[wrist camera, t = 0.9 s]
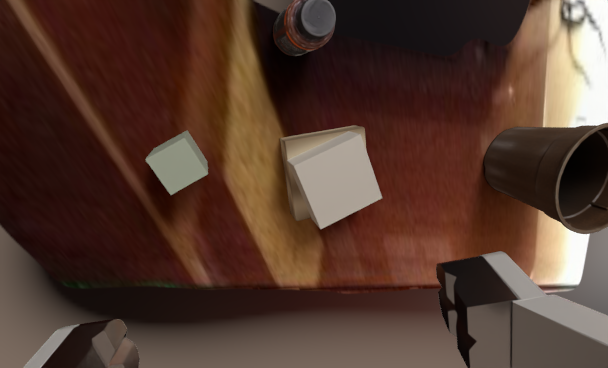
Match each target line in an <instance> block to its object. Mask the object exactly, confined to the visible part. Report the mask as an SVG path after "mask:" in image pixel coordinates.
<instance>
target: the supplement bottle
mask: <svg viewBox="0 0 608 368" xmlns="http://www.w3.org/2000/svg"><path fill="white" fill-rule="evenodd" d="M335 20H336V16H335V11H334V8H333V6H332V5H331V3H330V2H329V1H327V0H294V1H293V2H292V3H291V4H290V5H289V6H288V7H287V8H286V9H285V10H284V11H283V12H282V13H281V14H280V15H279V16H278V17H277V19H276V21H275V23H274V26H273V37H274V41H275V43H276V45H277V47H278V48H279V49H280V50H281V51H282V52H284V53H285V54H287V55H291V56H299V55H302V54H305V53H308V52H310V51H313V50H315V49H317V48H320V47H322V46H323V45H325V44H326V43H327V42H328V41H329V39H330V38H331V36H332V34H333V31H334V27H335Z"/></svg>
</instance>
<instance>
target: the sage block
mask: <svg viewBox="0 0 608 368" xmlns="http://www.w3.org/2000/svg"><path fill="white" fill-rule="evenodd" d="M145 160H146V161H147V163H148V164H149V165H150V167H151V168H152V170H153V171H154V172H155V174H156V175H157V177H158V178H159V179H160V181H161V182H162V184H163V185H164V186H165V188H166V189H167V191H168V192H169V193H170V195H172V194H174V193H176V192H177V191H179V190H181V189H183V188H184V187H186V186H188V185H190V184H191V183H193V182H195V181H197V180H198V179H200V178H202V177H204V176H206V175H207V174H208V166H207V160H206V159H205V157H204V156H203V154H202V153H201V151H200V149H199V148H198V146H197V145H196V143H195V142H194V140H193V138H192V137H191V135H190V134H189V132H188V131H185V132H183V133H182V134H180V135H178V136H176V137H174V138H172V139H171V140H169V141H167V142H165V143H163V144H161V145H160V146H158V147H156V148H154V149H153V151H152V152H151V153H150V154H149V156H148V157H147V158H146V159H145Z"/></svg>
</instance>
